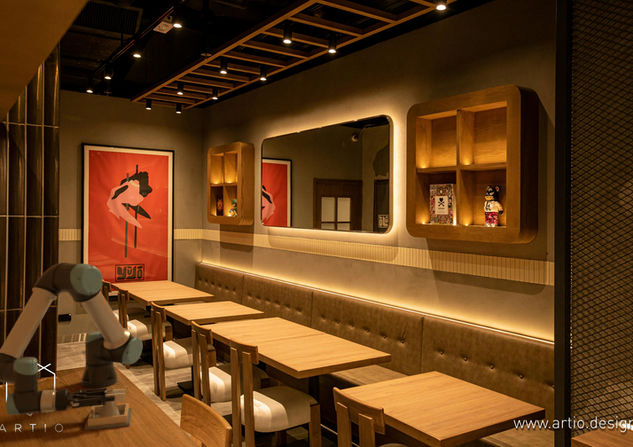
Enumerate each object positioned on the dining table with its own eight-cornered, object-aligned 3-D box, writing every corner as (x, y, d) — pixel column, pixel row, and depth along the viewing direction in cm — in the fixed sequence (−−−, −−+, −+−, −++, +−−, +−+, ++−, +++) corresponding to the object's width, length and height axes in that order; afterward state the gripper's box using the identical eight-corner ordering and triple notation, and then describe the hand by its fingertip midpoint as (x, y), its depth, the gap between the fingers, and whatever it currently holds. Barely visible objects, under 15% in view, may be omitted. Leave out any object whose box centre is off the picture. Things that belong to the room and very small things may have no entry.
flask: (112, 422, 190) (112, 395, 189) (94, 420, 191) (94, 393, 191) (123, 414, 197) (123, 388, 196) (105, 412, 198) (105, 386, 198)
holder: (89, 414, 199) (89, 405, 199) (131, 410, 203) (131, 401, 203) (84, 430, 185) (84, 420, 184) (129, 425, 189) (129, 416, 189)
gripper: (60, 402, 197) (126, 396, 203) (51, 419, 180) (123, 413, 187) (60, 382, 197) (126, 377, 203) (51, 398, 180) (123, 392, 187)
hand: (124, 394), depth 195 cm, fingers open, 4 cm apart
